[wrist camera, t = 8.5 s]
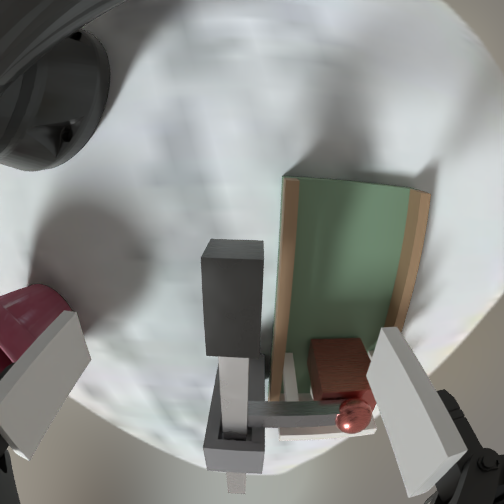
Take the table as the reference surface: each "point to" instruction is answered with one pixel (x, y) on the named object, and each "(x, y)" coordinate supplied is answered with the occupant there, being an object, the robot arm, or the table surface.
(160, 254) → the table surface
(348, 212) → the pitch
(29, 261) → the table surface
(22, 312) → the plant pot
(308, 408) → the slider
